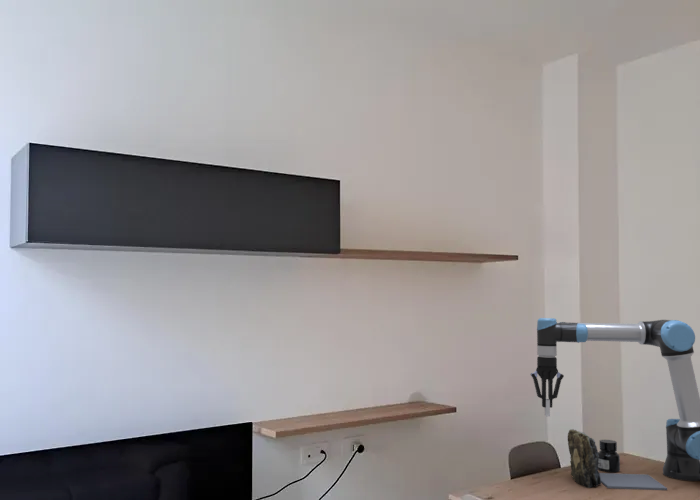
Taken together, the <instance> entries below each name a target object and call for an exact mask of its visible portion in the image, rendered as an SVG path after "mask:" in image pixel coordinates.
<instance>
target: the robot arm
mask: <svg viewBox="0 0 700 500" xmlns="http://www.w3.org/2000/svg"><path fill="white" fill-rule="evenodd" d="M536 322H537V325H536V337H537V338H536V342H537V343H536V345H537V346H536V350H537V351H536V353H537V354H536V355H537V360H536V366H537V367H536V369H535V371H534V372H531V373H530V376H531V378H532V380H533V383H534V387H535V392H536V396H537V397H538V398H540V399H541V406H542V408H544V416H545V417H551V408H553V401H554V399H557V398H558V396H559V391H560V386H561V383H562V380H563V378H564V374H563V373H560V372H559V369H558V365H557V360H558V359H557V357H556V356H557V355H558V354H557V353H558V350H557V343H562V342H564V343H578V344H579V343H586V342H589V341H590V342H619V343H620V342H622V343H623V342H626V343H627V342H629V343H638V344H639V345H646V346H647V345H648V346H653V347H658V348H659V350H660V353H661V357H662V358H664V359H665V360H666V361H667V362H666V363H667V367H668V372H669V375H670V380H671V385H672V390H673V393H674V398H675V403H676V407H677V412H678V415H679V418H668V419H667V420H666V426H665V430H666V431H665V432H666V458H665V461H664V464H663V467H662V474H663V475H664V476H666V477H668V478H670V479H671V478H672V479H675V480H681V481H689V482H697V481H700V392H699V388H698V384H697V380H696V379H697V378H696V375H695V370H694V366H693V362H692V356H693V355H694V353H695V351H694V347H693V346H694V344H695V342H696V335H695V332H694V329H693V328H692V327H691V326H690V324H688V323H687V322H684V321H681V320H677V319H674V320H673V319H658V320H651V321H650V320H649V321H648V320H646V321H638V323H616V322H615V323H609V322H608V323H607V322H566V321H561V322H558V321H557V319H556V318H552V317H551V318H549V317H540V318H538V319H537V321H536ZM538 377H539V378H540V379H541V380H540V381H541V388H540V384H539V381H538ZM555 377H556V381H555V385H554V386H553V383H554V378H555ZM553 387H554V389H553ZM547 395H548V397H547Z"/></svg>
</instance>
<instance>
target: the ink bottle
mask: <svg viewBox="0 0 700 500" xmlns="http://www.w3.org/2000/svg"><path fill="white" fill-rule="evenodd" d="M617 450H618V442H617V441H616V440H612V439H600V440H599V451H598V455H599V459H598V471H601V472H604V471H605V473H619V472H620V471H621V461H620V460H621V459H620V458H621V456H620V454H619V453H618V452H617Z"/></svg>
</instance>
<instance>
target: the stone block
mask: <svg viewBox="0 0 700 500" xmlns="http://www.w3.org/2000/svg"><path fill="white" fill-rule="evenodd" d="M567 444H568V451H569V455H570V457H569V458H570V468H571V471H570V476H571V475H572V476H573V477H572V476H571V477H572V478H573V479H572V480H574V482H575V483H576V482H577V483H576V484H578V485H580V486H582V487H584V488H587V489H589V488H590V489H591V488H595V487H598V486H599V485H602V483H601V477H600V474H599V473H600V471H599V469H598V459H599V455H598V452H599V451H598V446H597V445H596V441H595V439H594V438H592V437H591V436H589V435H588V434H586V433H585V432H582V431H580V430H577V429H574V428H572V429H569V430H568V433H567Z"/></svg>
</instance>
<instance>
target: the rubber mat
mask: <svg viewBox="0 0 700 500" xmlns="http://www.w3.org/2000/svg"><path fill="white" fill-rule="evenodd" d="M599 474H600V477H601V485H602V484H603V486H605V488H606V489H616V490H617V489H619V490H647V491H648V490H649V491H650V490H651V491H668V487H667V486H664V484H662V483H661V482H659V481H658V480H657V479H655V478H654V477H652V476H651V475H649V474H648V473H647V474H643V473H642V474H641V473H640V474H639V473H638V474H637V473H616V472H605V473H604V472H599Z"/></svg>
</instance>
